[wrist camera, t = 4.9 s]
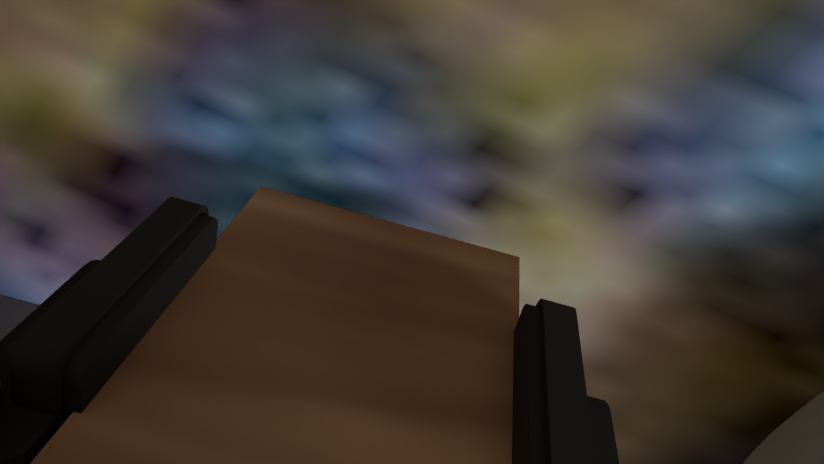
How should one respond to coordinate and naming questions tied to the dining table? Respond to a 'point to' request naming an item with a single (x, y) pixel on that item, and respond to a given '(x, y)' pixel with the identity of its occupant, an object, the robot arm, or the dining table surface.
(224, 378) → the domino walnut
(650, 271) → the dining table surface
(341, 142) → the dining table surface
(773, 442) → the cake pan
